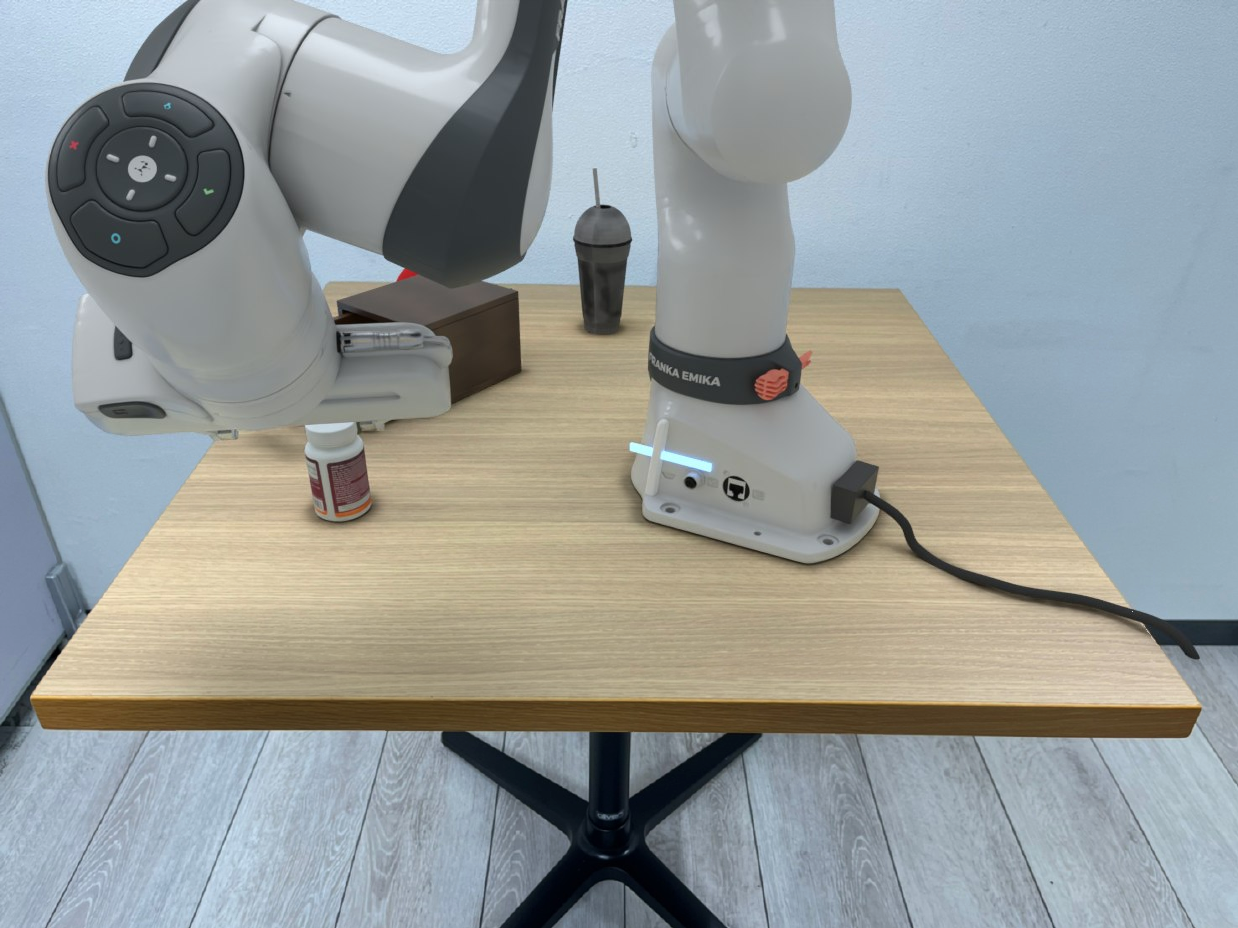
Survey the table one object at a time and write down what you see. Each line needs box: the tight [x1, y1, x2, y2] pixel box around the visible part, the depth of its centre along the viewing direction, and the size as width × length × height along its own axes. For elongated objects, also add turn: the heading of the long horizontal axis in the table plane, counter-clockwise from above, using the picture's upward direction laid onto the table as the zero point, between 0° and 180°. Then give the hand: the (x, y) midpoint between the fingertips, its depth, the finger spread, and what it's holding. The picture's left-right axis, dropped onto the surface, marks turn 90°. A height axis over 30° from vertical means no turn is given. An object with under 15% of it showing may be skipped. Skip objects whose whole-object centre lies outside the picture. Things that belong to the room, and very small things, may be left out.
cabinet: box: [336, 275, 522, 405], centre depth 100 cm, size 15×13×10 cm
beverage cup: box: [572, 167, 633, 336], centre depth 112 cm, size 7×7×20 cm
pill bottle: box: [304, 422, 372, 522], centre depth 76 cm, size 5×5×8 cm
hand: (301, 424), depth 61 cm, fingers open, 8 cm apart
